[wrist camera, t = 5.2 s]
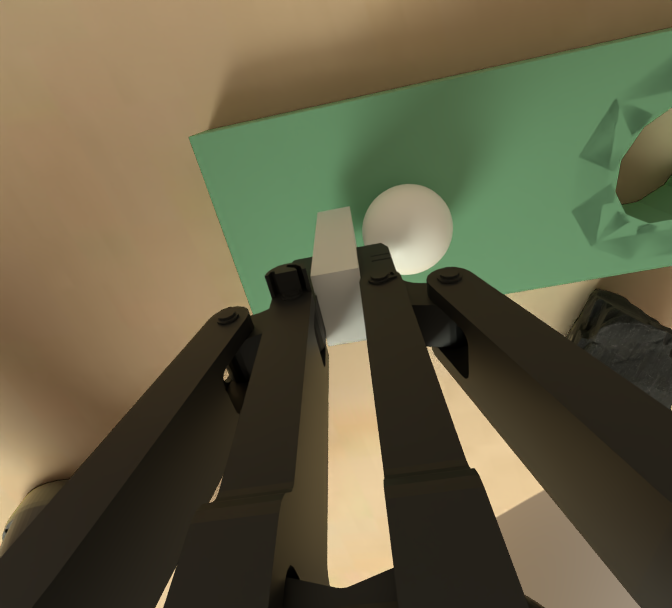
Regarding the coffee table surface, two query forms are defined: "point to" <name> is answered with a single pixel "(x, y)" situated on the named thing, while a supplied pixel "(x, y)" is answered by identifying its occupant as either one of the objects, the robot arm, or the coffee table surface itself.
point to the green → (462, 168)
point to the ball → (409, 226)
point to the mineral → (627, 343)
